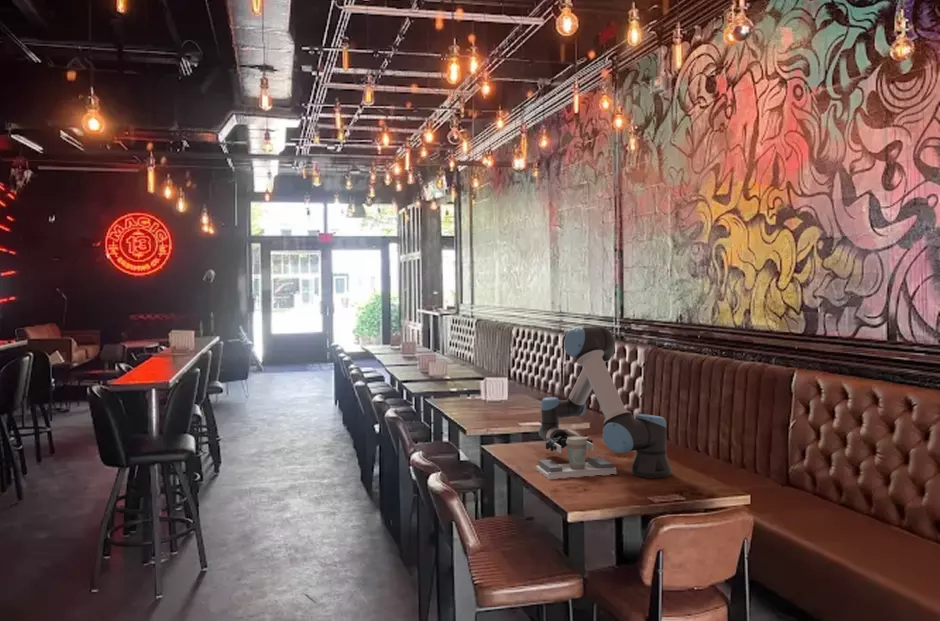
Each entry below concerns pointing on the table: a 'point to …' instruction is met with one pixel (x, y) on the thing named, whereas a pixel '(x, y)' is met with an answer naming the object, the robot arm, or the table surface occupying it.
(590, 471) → the rail plate
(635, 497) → the table surface
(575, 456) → the coffee cup
